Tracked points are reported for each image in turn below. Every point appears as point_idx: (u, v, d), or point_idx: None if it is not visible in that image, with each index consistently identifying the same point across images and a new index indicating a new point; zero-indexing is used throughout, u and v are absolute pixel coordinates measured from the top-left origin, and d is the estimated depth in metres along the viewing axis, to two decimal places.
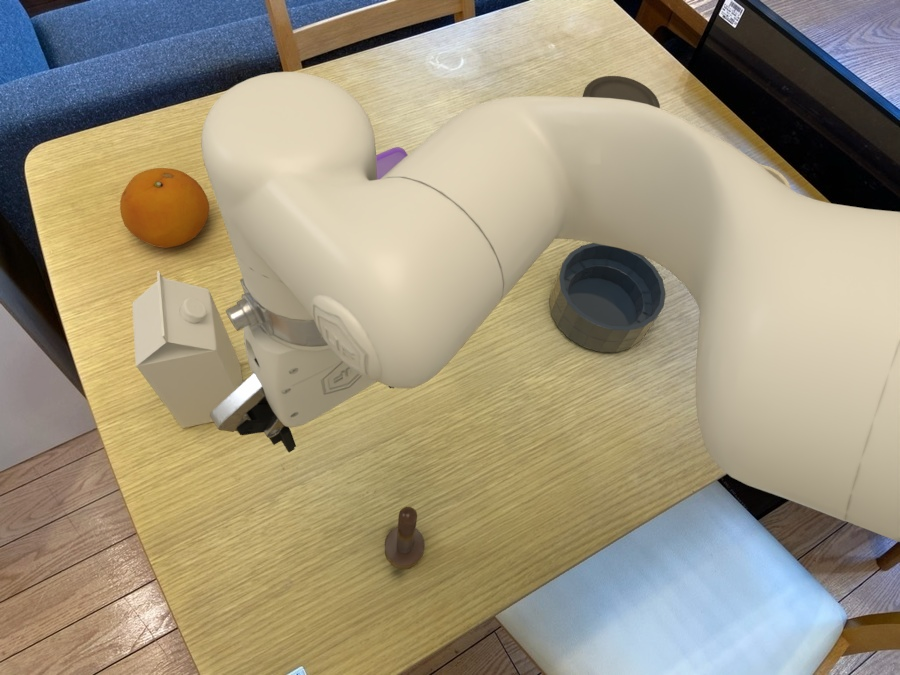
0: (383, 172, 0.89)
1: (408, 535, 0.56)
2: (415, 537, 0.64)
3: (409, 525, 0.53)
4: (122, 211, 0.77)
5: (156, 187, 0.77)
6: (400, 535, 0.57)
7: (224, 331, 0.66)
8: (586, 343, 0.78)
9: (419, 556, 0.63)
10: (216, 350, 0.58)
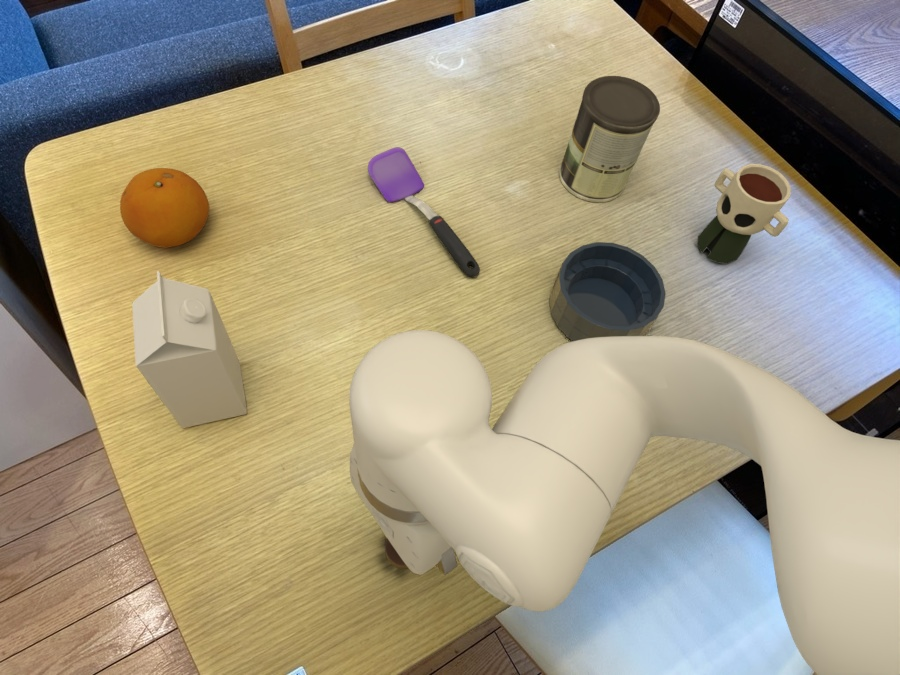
0: (383, 172, 0.89)
1: None
2: None
3: None
4: (122, 211, 0.77)
5: (156, 187, 0.77)
6: None
7: (224, 331, 0.66)
8: None
9: None
10: (216, 350, 0.58)
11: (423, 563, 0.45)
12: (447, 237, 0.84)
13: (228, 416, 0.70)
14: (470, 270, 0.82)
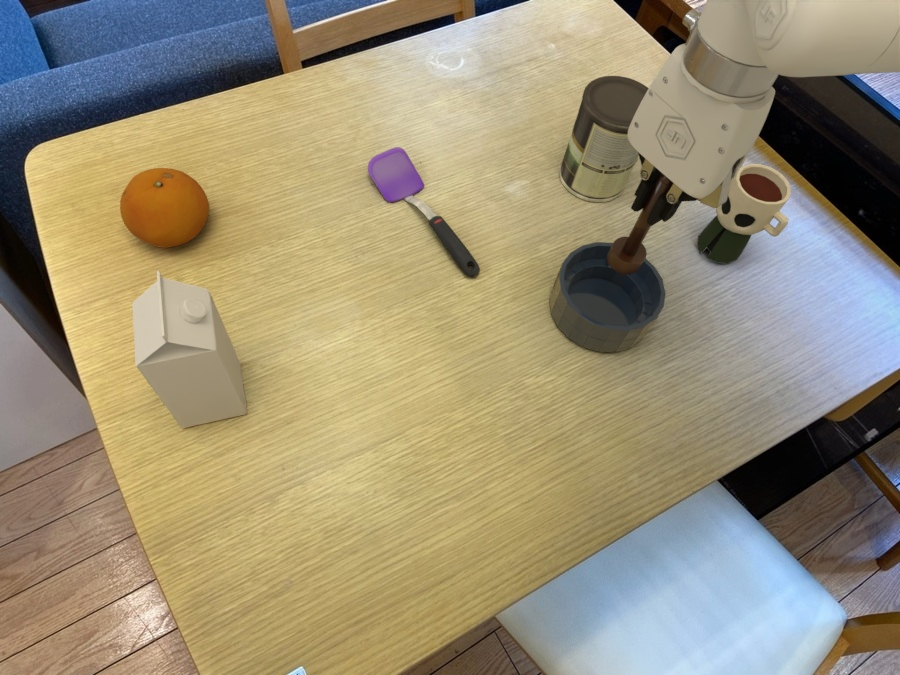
0: (383, 172, 0.89)
1: None
2: None
3: (669, 186, 0.61)
4: (122, 211, 0.77)
5: (156, 187, 0.77)
6: (646, 214, 0.65)
7: (224, 331, 0.66)
8: (586, 343, 0.78)
9: (643, 258, 0.71)
10: (216, 350, 0.58)
11: (723, 164, 0.53)
12: (447, 237, 0.84)
13: (228, 416, 0.70)
14: (470, 270, 0.82)
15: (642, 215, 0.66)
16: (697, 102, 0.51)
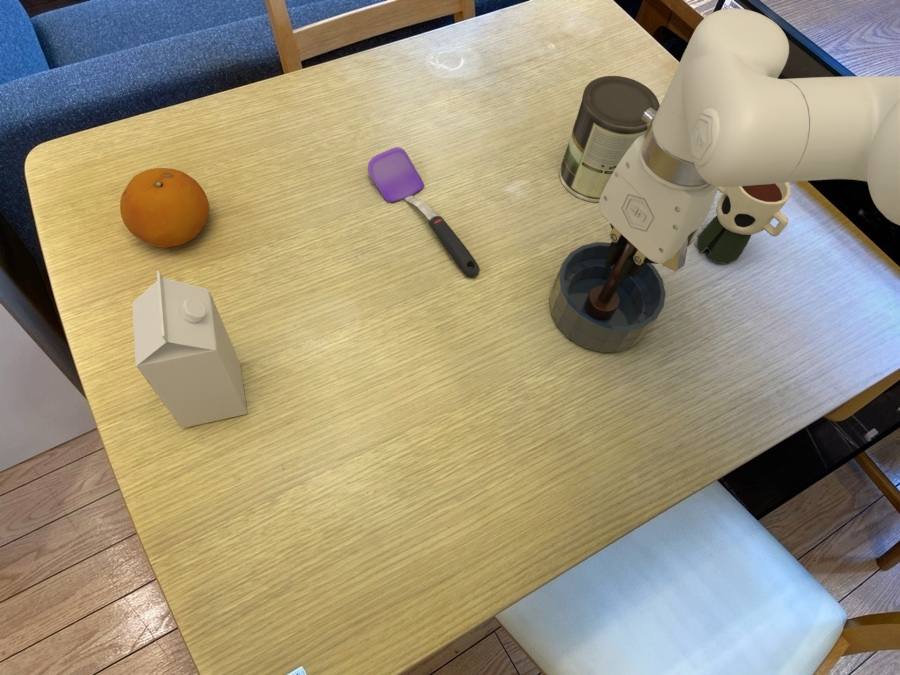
0: (383, 172, 0.89)
1: None
2: None
3: (636, 248, 0.70)
4: (122, 211, 0.77)
5: (156, 187, 0.77)
6: (617, 270, 0.74)
7: (224, 331, 0.66)
8: (586, 343, 0.78)
9: (617, 305, 0.79)
10: (216, 350, 0.58)
11: (678, 238, 0.61)
12: (447, 237, 0.84)
13: (228, 416, 0.70)
14: (470, 270, 0.82)
15: (614, 270, 0.74)
16: (654, 186, 0.60)
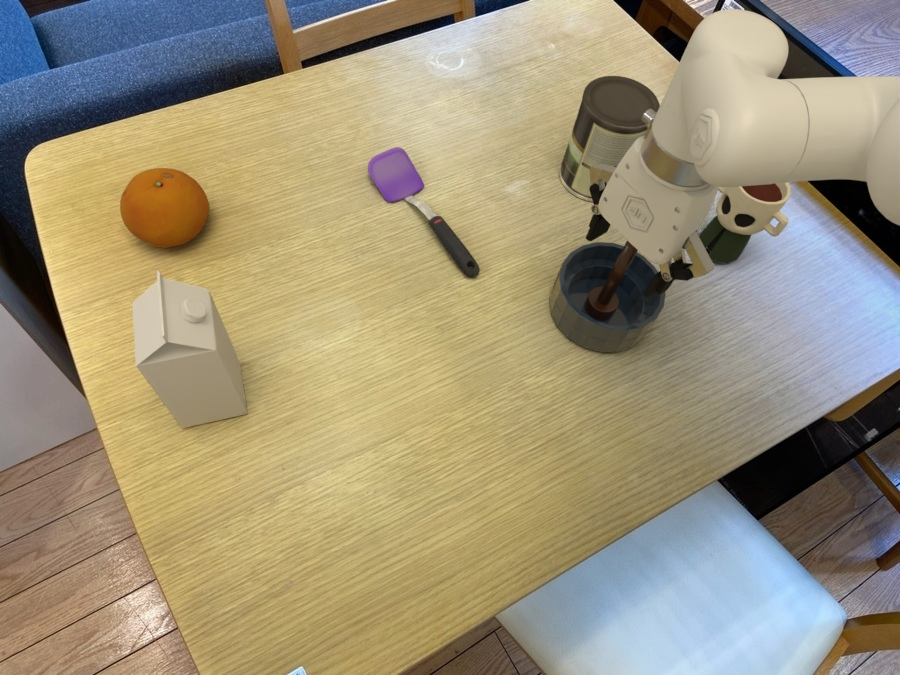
0: (383, 172, 0.89)
1: (625, 268, 0.73)
2: None
3: (635, 249, 0.70)
4: (122, 211, 0.77)
5: (156, 187, 0.77)
6: (616, 271, 0.74)
7: (224, 331, 0.66)
8: (586, 343, 0.78)
9: (616, 306, 0.80)
10: (216, 350, 0.58)
11: (678, 238, 0.61)
12: (447, 237, 0.84)
13: (228, 416, 0.70)
14: (470, 270, 0.82)
15: (613, 272, 0.75)
16: (654, 187, 0.60)
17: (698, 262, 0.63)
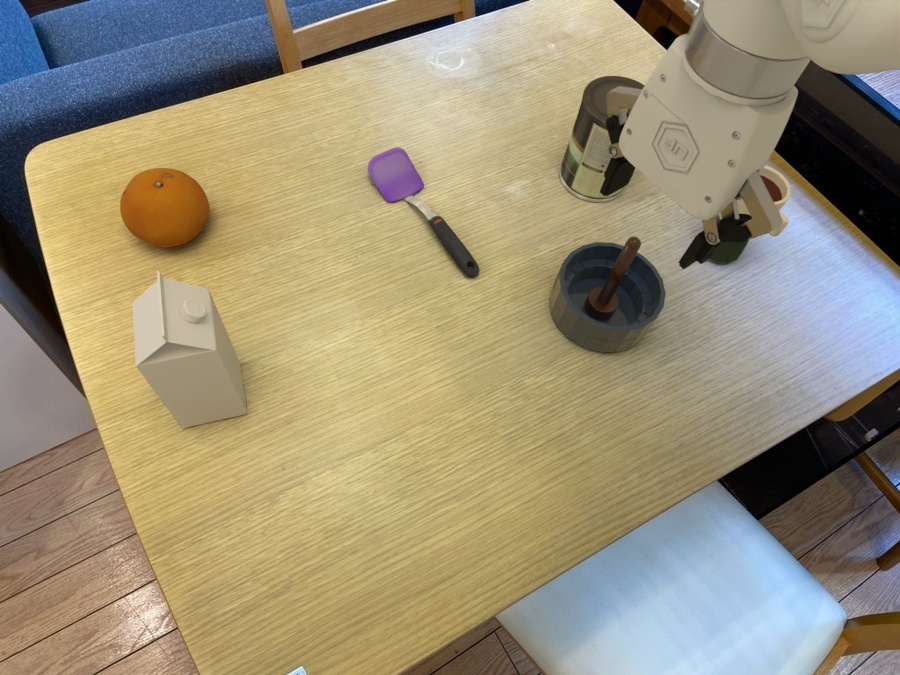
0: (383, 172, 0.89)
1: (625, 268, 0.73)
2: None
3: (635, 249, 0.70)
4: (122, 211, 0.77)
5: (156, 187, 0.77)
6: (616, 271, 0.74)
7: (224, 331, 0.66)
8: (586, 343, 0.78)
9: (616, 306, 0.80)
10: (216, 350, 0.58)
11: (734, 179, 0.44)
12: (447, 237, 0.84)
13: (228, 416, 0.70)
14: (470, 270, 0.82)
15: (613, 272, 0.75)
16: (702, 104, 0.42)
17: (760, 215, 0.45)
